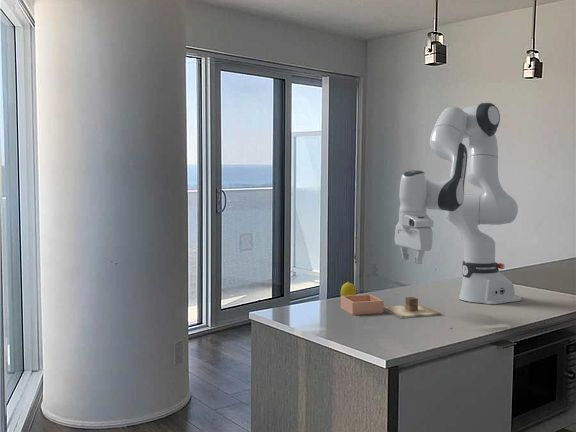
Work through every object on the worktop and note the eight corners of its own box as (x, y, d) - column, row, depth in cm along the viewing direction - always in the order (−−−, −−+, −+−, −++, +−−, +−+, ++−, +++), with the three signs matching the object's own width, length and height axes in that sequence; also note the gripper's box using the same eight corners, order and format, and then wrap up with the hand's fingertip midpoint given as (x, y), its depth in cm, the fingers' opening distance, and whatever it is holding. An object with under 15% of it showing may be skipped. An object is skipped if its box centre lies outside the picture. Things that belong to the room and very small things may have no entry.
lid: (420, 306, 217) (420, 292, 217) (441, 315, 204) (441, 301, 204) (383, 308, 214) (383, 295, 213) (401, 317, 200) (401, 303, 200)
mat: (421, 308, 219) (421, 305, 219) (445, 318, 203) (445, 315, 203) (379, 310, 214) (379, 308, 214) (400, 322, 199) (400, 318, 199)
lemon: (355, 305, 223) (355, 283, 222) (339, 304, 224) (339, 282, 223) (356, 302, 228) (356, 280, 228) (341, 301, 229) (341, 280, 229)
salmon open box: (370, 308, 218) (370, 294, 218) (383, 315, 208) (383, 300, 207) (340, 310, 215) (340, 296, 215) (352, 317, 205) (352, 302, 204)
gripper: (390, 217, 216) (389, 257, 216) (418, 222, 196) (417, 266, 197) (407, 217, 217) (406, 257, 218) (436, 222, 198) (435, 265, 199)
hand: (411, 261), depth 207 cm, fingers open, 8 cm apart
